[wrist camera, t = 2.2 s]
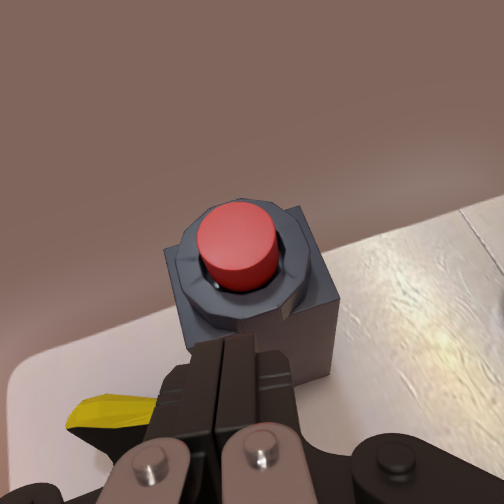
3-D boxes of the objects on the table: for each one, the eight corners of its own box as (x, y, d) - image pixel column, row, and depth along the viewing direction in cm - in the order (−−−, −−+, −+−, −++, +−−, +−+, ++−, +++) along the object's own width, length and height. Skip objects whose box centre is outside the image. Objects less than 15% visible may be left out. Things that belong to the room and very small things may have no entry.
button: (266, 218, 23) (262, 191, 21) (289, 278, 21) (286, 255, 19) (199, 240, 23) (188, 215, 21) (217, 302, 21) (206, 281, 19)
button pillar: (303, 305, 39) (297, 179, 23) (331, 377, 36) (345, 286, 20) (216, 334, 39) (150, 226, 23) (236, 409, 36) (176, 342, 20)
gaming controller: (100, 641, 30) (247, 604, 30) (59, 670, 25) (234, 625, 25) (91, 410, 37) (208, 381, 37) (58, 398, 32) (193, 364, 32)
